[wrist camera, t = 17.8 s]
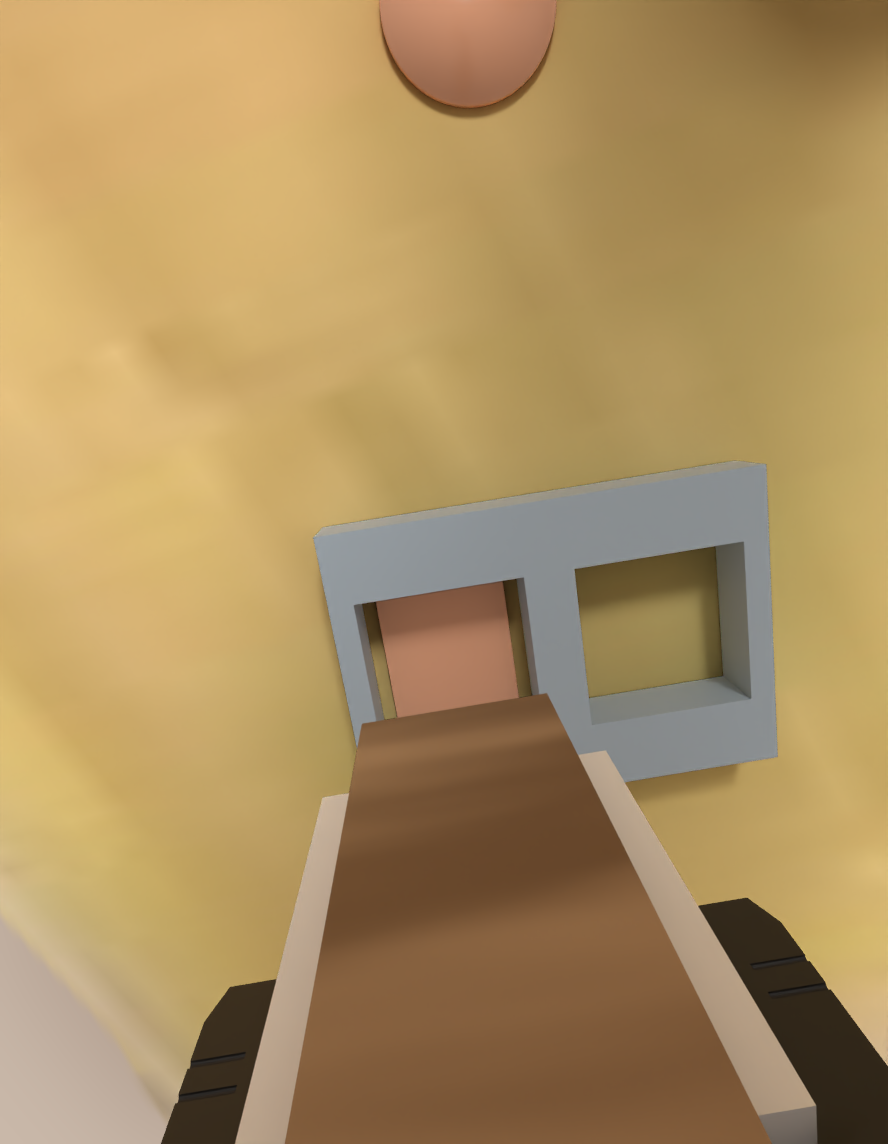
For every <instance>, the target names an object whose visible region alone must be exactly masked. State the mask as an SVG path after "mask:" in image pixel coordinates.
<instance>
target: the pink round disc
mask: <svg viewBox="0 0 888 1144" xmlns="http://www.w3.org/2000/svg"><path fill="white" fill-rule="evenodd" d="M380 14H381V23H382V28H383V32H384V36H385V39H386V42H387V45H388V48H389V50H390V52H391V55H392V57H393V59H394V61H395V62H396V64H397V65H398V67H399V69H400V70H401V71H402V73H403V74H404V75H405V76H406V78H407V79H408V80H409V81H410V82H411V83H412V84H413V85H414V86H415V87H416V88H417V89H419V90H420V91H421V92H423V93H424V94H425V95H427V96H429V97H430V98H432V99H434V100H436V101H438V102H441V103H444V104H446V105H450V106H455V107H462V108H475V107H483V106H487V105H491V104H494V103H496V102H499V101H501V100H503V99H505V98H507V97H508V96H510V95H512V94H513V93H514V92H516V91H517V90H518V89H519V88H521V87H522V86H523V85H524V84H525V83H526V82H527V81H528V80H529V79H530V77H531V76H532V75H533V73H534V72H535V71H536V69H537V68H538V66H539V64H540V62H541V61H542V59H543V57H544V54H545V52H546V50H547V48H548V45H549V42H550V39H551V35H552V32H553V27H554V22H555V16H556V0H380Z"/></svg>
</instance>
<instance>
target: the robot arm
mask: <svg viewBox="0 0 888 1144" xmlns="http://www.w3.org/2000/svg"><path fill="white" fill-rule="evenodd" d="M578 756H579V758H580V760H581V762H582V764H583V766H584V768H585V770H586V772H587V774H588V776H589V778H590V780H591V782H592V784H593V786H594V788H595V790H596V792H597V794H598V796H599V798H600V800H601V802H602V804H603V806H604V808H605V810H606V812H607V814H608V816H609V818H610V820H611V822H612V824H613V826H614V828H615V830H616V832H617V834H618V836H619V838H620V840H621V842H622V844H623V846H624V848H625V850H626V852H627V854H628V856H629V858H630V860H631V862H632V864H633V866H634V868H635V870H636V872H637V874H638V876H639V878H640V880H641V882H642V884H643V886H644V888H645V890H646V892H647V894H648V896H649V898H650V900H651V902H652V904H653V906H654V908H655V910H656V912H657V914H658V916H659V918H660V920H661V922H662V924H663V926H664V928H665V930H666V932H667V934H668V936H669V938H670V940H671V942H672V944H673V946H674V948H675V950H676V952H677V954H678V956H679V958H680V960H681V962H682V964H683V966H684V968H685V970H686V972H687V974H688V976H689V978H690V980H691V982H692V984H693V986H694V988H695V990H696V992H697V994H698V996H699V998H700V1000H701V1002H702V1004H703V1006H704V1008H705V1010H706V1012H707V1014H708V1016H709V1018H710V1020H711V1022H712V1024H713V1026H714V1028H715V1030H716V1032H717V1034H718V1036H719V1038H720V1040H721V1042H722V1044H723V1046H724V1048H725V1050H726V1052H727V1054H728V1056H729V1058H730V1060H731V1062H732V1064H733V1066H734V1068H735V1070H736V1072H737V1074H738V1076H739V1078H740V1080H741V1082H742V1084H743V1086H744V1088H745V1090H746V1092H747V1094H748V1096H749V1098H750V1100H751V1102H752V1104H753V1106H754V1108H755V1110H756V1112H757V1114H758V1116H759V1118H760V1120H761V1122H762V1124H763V1126H764V1128H765V1130H766V1132H767V1134H768V1136H769V1138H770V1140H771V1142H772V1144H888V1066H887V1065H886V1063H885V1062H884V1061H883V1059H882V1058H881V1057H880V1055H879V1054H878V1053H877V1051H876V1050H875V1049H874V1047H873V1046H872V1045H871V1043H870V1042H869V1040H868V1039H867V1038H866V1036H865V1035H864V1034H863V1032H862V1031H861V1030H860V1028H859V1027H858V1026H857V1024H856V1023H855V1022H854V1020H853V1019H852V1018H851V1016H850V1015H849V1013H848V1012H847V1011H846V1009H845V1008H844V1007H843V1005H842V1004H841V1003H840V1001H839V1000H838V999H837V997H836V996H835V995H834V993H833V992H832V991H831V990H828V988H827V986H826V983H825V981H824V980H823V978H822V977H821V976H820V974H819V973H818V972H817V970H816V969H815V968H814V966H813V965H812V964H811V962H810V961H807V960H806V957H805V954H804V953H803V951H802V950H801V949H800V947H799V946H798V945H797V943H796V942H795V941H794V939H793V938H792V937H791V935H790V934H789V933H788V931H787V930H786V929H785V927H784V926H783V924H782V923H781V922H780V921H778V920H777V919H776V918H774V917H773V916H772V915H770V914H769V913H767V912H766V911H765V910H763V909H762V908H760V907H759V906H758V905H756V904H755V903H754V902H752V901H751V900H749V899H748V898H742V899H736V900H730V901H724V902H718V903H712V904H706V905H700V906H698V905H697V904H696V902H695V900H694V898H693V897H692V895H691V893H690V892H689V890H688V888H687V887H686V885H685V883H684V882H683V880H682V878H681V877H680V875H679V873H678V871H677V870H676V868H675V866H674V865H673V863H672V861H671V860H670V858H669V856H668V855H667V853H666V851H665V850H664V848H663V846H662V844H661V843H660V841H659V839H658V838H657V836H656V834H655V833H654V831H653V829H652V828H651V826H650V824H649V823H648V821H647V819H646V817H645V816H644V814H643V812H642V811H641V809H640V807H639V806H638V804H637V802H636V801H635V799H634V797H633V796H632V794H631V792H630V790H629V789H628V787H627V785H626V784H625V782H624V780H623V779H622V777H621V775H620V774H619V772H618V770H617V769H616V767H615V765H614V763H613V762H612V760H611V758H610V757H609V755H608V753H607V752H606V750H605V751H599V752H593V753H587V754H581V755H578ZM348 796H349V793H346V794H340V795H334V796H328V797H323V798H322V802H321V806H320V810H319V814H318V818H317V821H316V825H315V829H314V833H313V837H312V841H311V845H310V849H309V853H308V857H307V861H306V865H305V869H304V873H303V877H302V881H301V885H300V889H299V893H298V897H297V901H296V904H295V908H294V912H293V916H292V920H291V924H290V928H289V932H288V936H287V940H286V944H285V948H284V952H283V956H282V960H281V964H280V968H279V972H278V976H277V979H275V980H269V981H263V982H257V983H251V984H245V985H239V986H234V987H230V988H229V989H228V991H227V992H226V993H225V995H224V996H223V997H222V999H221V1000H220V1001H219V1003H218V1004H217V1006H216V1007H215V1008H214V1010H213V1011H212V1012H211V1014H210V1015H209V1016H208V1018H207V1019H206V1021H205V1022H204V1024H203V1027H202V1030H201V1033H200V1036H199V1039H198V1041H197V1044H196V1047H195V1050H194V1053H193V1055H192V1058H191V1061H190V1062H191V1066H190V1069H187V1072H186V1075H185V1078H184V1081H183V1083H182V1086H181V1089H180V1092H179V1100H178V1103H175V1106H174V1109H173V1111H172V1114H171V1117H170V1120H169V1123H168V1125H167V1128H166V1131H165V1134H164V1137H163V1140H162V1143H161V1144H285V1139H286V1134H287V1128H288V1123H289V1117H290V1112H291V1106H292V1101H293V1095H294V1090H295V1085H296V1079H297V1074H298V1068H299V1063H300V1057H301V1052H302V1046H303V1041H304V1036H305V1030H306V1025H307V1019H308V1014H309V1008H310V1003H311V997H312V992H313V987H314V981H315V976H316V970H317V965H318V959H319V954H320V948H321V943H322V938H323V932H324V927H325V921H326V916H327V910H328V905H329V899H330V894H331V889H332V883H333V878H334V872H335V867H336V861H337V856H338V850H339V845H340V840H341V834H342V829H343V823H344V818H345V812H346V807H347V801H348Z"/></svg>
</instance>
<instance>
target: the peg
mask: <svg viewBox="0 0 888 1144" xmlns="http://www.w3.org/2000/svg"><path fill="white" fill-rule="evenodd" d="M285 1144H772V1142H771V1140H770V1138H769V1136H768V1134H767V1132H766V1130H765V1128H764V1126H763V1124H762V1122H761V1120H760V1118H759V1116H758V1114H757V1112H756V1110H755V1108H754V1106H753V1104H752V1102H751V1100H750V1098H749V1096H748V1094H747V1092H746V1090H745V1088H744V1086H743V1084H742V1082H741V1080H740V1078H739V1076H738V1074H737V1072H736V1070H735V1068H734V1066H733V1064H732V1062H731V1060H730V1058H729V1056H728V1054H727V1052H726V1050H725V1048H724V1046H723V1044H722V1042H721V1040H720V1038H719V1036H718V1034H717V1032H716V1030H715V1028H714V1026H713V1024H712V1022H711V1020H710V1018H709V1016H708V1014H707V1012H706V1010H705V1008H704V1006H703V1004H702V1002H701V1000H700V998H699V996H698V994H697V992H696V990H695V988H694V986H693V984H692V982H691V980H690V978H689V976H688V974H687V972H686V970H685V968H684V966H683V964H682V962H681V960H680V958H679V956H678V954H677V952H676V950H675V948H674V946H673V944H672V942H671V940H670V938H669V936H668V934H667V932H666V930H665V928H664V926H663V924H662V922H661V920H660V918H659V916H658V914H657V912H656V910H655V908H654V906H653V904H652V902H651V900H650V898H649V896H648V894H647V892H646V890H645V888H644V886H643V884H642V882H641V880H640V878H639V876H638V874H637V872H636V870H635V868H634V866H633V864H632V862H631V860H630V858H629V856H628V854H627V852H626V850H625V848H624V846H623V844H622V842H621V840H620V838H619V836H618V834H617V832H616V830H615V828H614V826H613V824H612V822H611V820H610V818H609V816H608V814H607V812H606V810H605V808H604V806H603V804H602V802H601V800H600V798H599V796H598V794H597V792H596V790H595V788H594V786H593V784H592V782H591V780H590V778H589V776H588V774H587V772H586V770H585V768H584V766H583V764H582V762H581V760H580V758H579V756H578V754H577V752H576V750H575V748H574V746H573V744H572V742H571V740H570V738H569V736H568V734H567V732H566V730H565V728H564V726H563V724H562V722H561V720H560V718H559V716H558V714H557V712H556V710H555V708H554V706H553V704H552V702H551V700H550V698H549V696H548V694H547V693H545V694H539V695H533V696H527V697H521V698H514V699H508V700H502V701H496V702H490V703H484V704H478V705H472V706H466V707H460V708H454V709H448V710H442V711H436V712H430V713H424V714H417V715H411V716H405V717H399V718H393V719H387V720H381V721H375V722H369V723H363V724H362V725H361V731H360V736H359V741H358V747H357V752H356V758H355V763H354V769H353V774H352V780H351V785H350V791H349V796H348V801H347V807H346V812H345V818H344V823H343V829H342V834H341V840H340V845H339V850H338V856H337V861H336V867H335V872H334V878H333V883H332V889H331V894H330V899H329V905H328V910H327V916H326V921H325V927H324V932H323V938H322V943H321V948H320V954H319V959H318V965H317V970H316V976H315V981H314V987H313V992H312V997H311V1003H310V1008H309V1014H308V1019H307V1025H306V1030H305V1036H304V1041H303V1046H302V1052H301V1057H300V1063H299V1068H298V1074H297V1079H296V1085H295V1090H294V1095H293V1101H292V1106H291V1112H290V1117H289V1123H288V1128H287V1134H286V1139H285Z"/></svg>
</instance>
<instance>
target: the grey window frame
mask: <svg viewBox="0 0 888 1144" xmlns="http://www.w3.org/2000/svg"><path fill="white" fill-rule="evenodd" d="M313 539H314V543H315V548H316V553H317V558H318V563H319V567H320V572H321V577H322V582H323V587H324V592H325V596H326V601H327V606H328V611H329V616H330V620H331V625H332V630H333V635H334V640H335V645H336V649H337V654H338V659H339V664H340V669H341V673H342V678H343V683H344V688H345V693H346V698H347V702H348V707H349V712H350V717H351V722H352V727H353V731H354V736H355V741H356V746H357V747H358V741H359V736H360V731H361V725H362V724H363V723H369V722H375V721H381V720H384V715H383V710H382V704H381V699H380V694H379V689H378V684H377V679H376V674H375V668H374V663H373V658H372V653H371V648H370V643H369V637H368V632H367V627H366V622H365V617H364V612H363V607H362V604H363V603H369V602H376V606H377V611H378V617H379V622H380V627H381V633H382V638H383V643H384V649H385V654H386V659H387V664H388V670H389V675H390V680H391V686H392V691H393V696H394V701H395V707H396V712H397V717H398V718H399V717H405V716H411V715H417V714H424V713H430V712H436V711H442V710H448V709H454V708H460V707H466V706H472V705H478V704H484V703H490V702H496V701H502V700H508V699H514V698H519V695H518V688H517V681H516V673H515V666H514V659H513V652H512V645H511V638H510V630H509V623H508V616H507V609H506V602H505V595H504V587H503V581H504V580H510V579H516V580H517V588H518V595H519V603H520V610H521V618H522V625H523V632H524V640H525V647H526V655H527V662H528V670H529V677H530V684H531V692H532V696H533V695H539V694H545V693H547V694H548V696H549V698H550V700H551V702H552V704H553V706H554V708H555V710H556V712H557V714H558V716H559V718H560V720H561V722H562V724H563V726H564V728H565V730H566V732H567V734H568V736H569V738H570V740H571V742H572V744H573V746H574V748H575V750H576V752H577V754H578V755H581V754H587V753H593V752H599V751H605V750H606V752H607V753H608V755H609V757H610V758H611V760H612V762H613V763H614V765H615V767H616V769H617V770H618V772H619V774H620V775H621V777H622V779H623V780H624V782H629V781H635V780H641V779H647V778H653V777H659V776H665V775H671V774H678V773H684V772H690V771H696V770H702V769H708V768H714V767H720V766H726V765H732V764H738V763H744V762H750V761H756V760H762V759H768V758H774V757H778V753H777V727H776V701H775V676H774V650H773V624H772V599H771V573H770V547H769V522H768V496H767V470H766V464H761V463H752V462H742V461H729V462H723V463H716V464H710V465H704V466H698V467H692V468H686V469H679V470H673V471H667V472H661V473H655V474H649V475H642V476H636V477H630V478H624V479H618V480H612V481H605V482H599V483H593V484H587V485H581V486H575V487H568V488H562V489H556V490H550V491H544V492H538V493H531V494H525V495H519V496H513V497H507V498H501V499H494V500H488V501H482V502H476V503H470V504H464V505H457V506H451V507H445V508H439V509H433V510H427V511H420V512H414V513H408V514H402V515H396V516H390V517H383V518H377V519H371V520H365V521H359V522H353V523H346V524H340V525H334V526H328V527H323V528H322V529H321V530H320V531H319V532H318V533H317V534H316V535H315V536H314V537H313ZM713 546H716V563H717V580H718V596H719V613H720V630H721V647H722V664H723V676H720V677H714V678H708V679H702V680H696V681H690V682H684V683H678V684H672V685H666V686H659V687H653V688H647V689H641V690H635V691H629V692H623V693H617V694H611V695H605V696H599V697H593V698H589V695H588V686H587V677H586V668H585V659H584V650H583V642H582V633H581V624H580V615H579V606H578V597H577V588H576V579H575V570H574V569H578V568H584V567H590V566H596V565H602V564H609V563H615V562H621V561H627V560H633V559H639V558H645V557H652V556H658V555H664V554H670V553H676V552H682V551H688V550H694V549H701V548H707V547H713Z"/></svg>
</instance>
